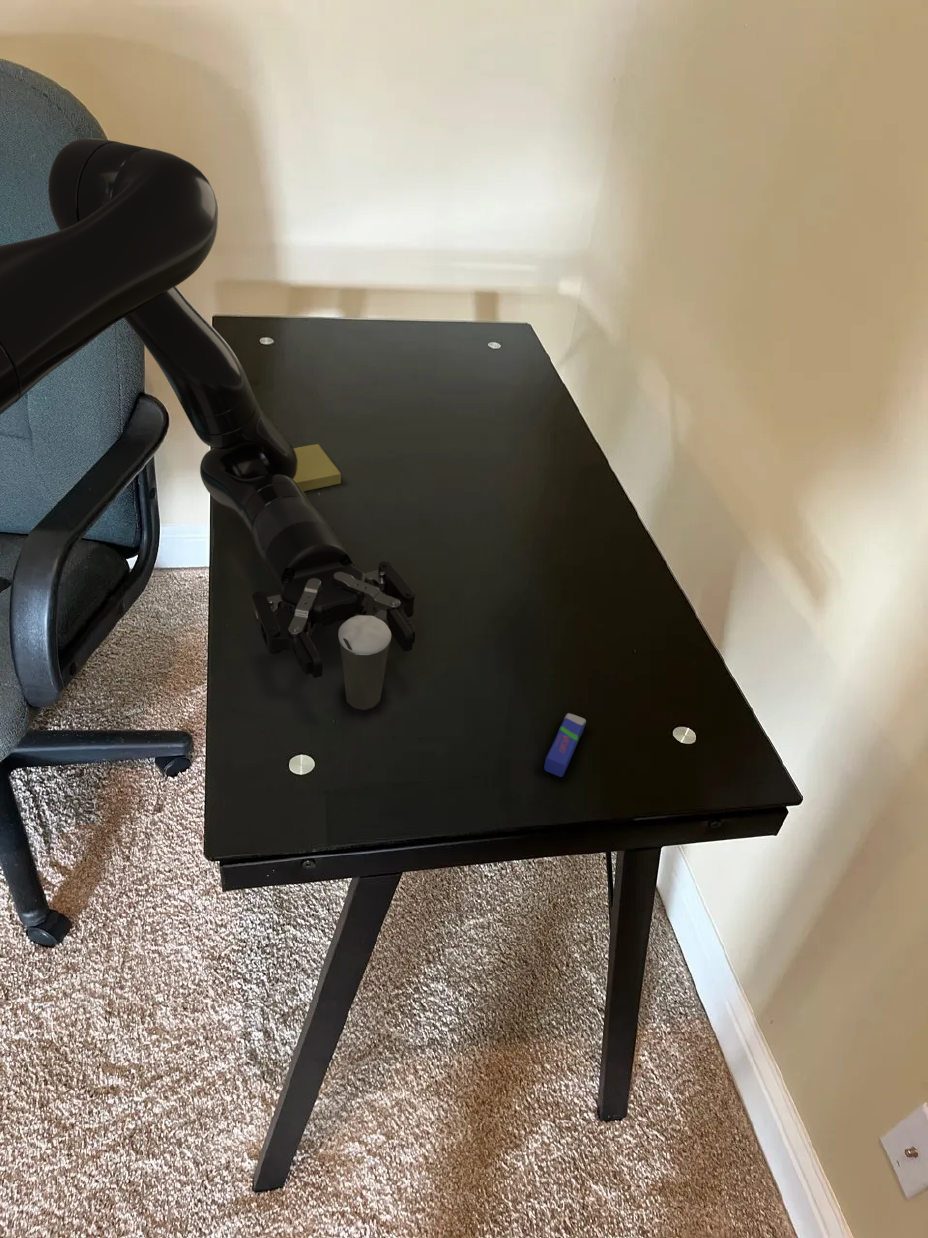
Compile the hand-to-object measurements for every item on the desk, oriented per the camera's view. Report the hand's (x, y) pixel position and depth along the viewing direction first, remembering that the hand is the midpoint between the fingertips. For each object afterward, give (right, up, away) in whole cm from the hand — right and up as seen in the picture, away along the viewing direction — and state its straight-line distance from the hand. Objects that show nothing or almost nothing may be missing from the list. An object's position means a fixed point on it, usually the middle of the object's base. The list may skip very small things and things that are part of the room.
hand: (365, 657), depth 72 cm
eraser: (+18, -9, +3) cm, 20 cm away
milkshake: (-1, -4, +5) cm, 7 cm away
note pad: (-12, +22, +32) cm, 40 cm away
